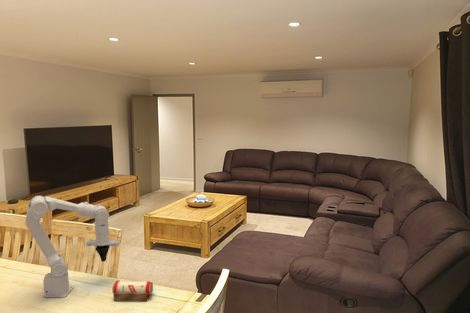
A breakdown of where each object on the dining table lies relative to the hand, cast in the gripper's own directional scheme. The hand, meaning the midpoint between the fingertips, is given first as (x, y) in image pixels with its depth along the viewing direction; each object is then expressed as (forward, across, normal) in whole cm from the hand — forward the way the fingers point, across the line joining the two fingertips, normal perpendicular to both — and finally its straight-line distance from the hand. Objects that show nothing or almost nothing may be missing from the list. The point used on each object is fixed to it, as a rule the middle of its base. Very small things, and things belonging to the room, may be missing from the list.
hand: (103, 260), depth 164 cm
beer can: (+7, -9, +12) cm, 17 cm away
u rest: (+10, -17, +12) cm, 23 cm away
